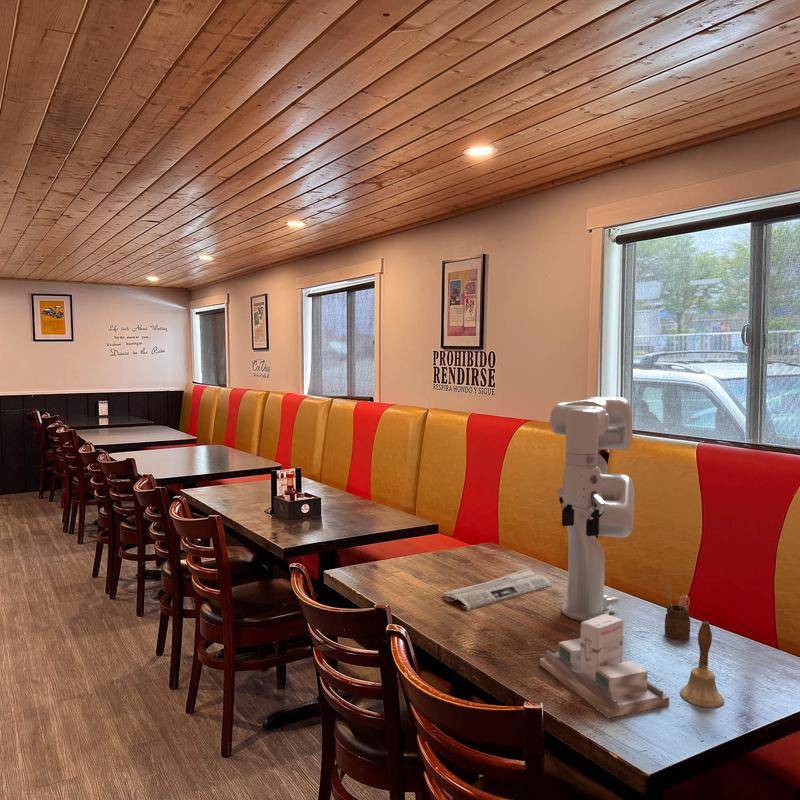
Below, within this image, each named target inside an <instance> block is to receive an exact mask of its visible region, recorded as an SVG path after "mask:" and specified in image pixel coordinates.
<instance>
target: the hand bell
mask: <svg viewBox="0 0 800 800" xmlns="http://www.w3.org/2000/svg"><path fill="white" fill-rule="evenodd" d="M700 625H701V626H700V627H699V630H698V634H697V643H698V647H699V657H698V658H699V660H698V667H694V668H691V670H690V674H689V679H688V682H687V683H686V684H685V685H684V686H683V687H682V688H680V690H679V695H680V697H681V698H682V699H683V700H685V701H686V702H688V703H690V704H693V705H694V706H699V707H702V708H703V707H704V708H707V709H710V708H711V709H713V708H719V707H721V706H723V705H724V703H725V700H724V697H723V696H722V694H721V693H720V692H719V690H718V689H717V688H718V687H717V683H716V678H715V674H714V672H713V671H712V670H710V669H709V668H708V666H709V651H710V649H711V646H712V642H713V641H712V640H713V634H712V630H711V627H710V622H709V621H707V620H704V621H702V623H701V624H700Z"/></svg>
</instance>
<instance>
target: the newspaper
mask: <svg viewBox="0 0 800 800" xmlns="http://www.w3.org/2000/svg"><path fill="white" fill-rule="evenodd" d="M548 587H551V588H552V583H551V582H550V580H549V579H548V578H547V577H545V576H544V575H542V574H541V575H540V574H538V573H536V572H534V571H532V570H531V568H530V567H527V568H524V569H520V570H519V571H516V572H512V573H510V574H507V575H504V576H501V577H499V578H496V579H492V580H490V581H487V582H482V583H477V584H473V585H469V586H465V587H460V588H456V589H450V590H448V591H443V592H442V593H443V594H445V595H444V596H443V600H444V601H445V600H447V601H446V602H450V601H451V602H453V601H452V600H455V599H458V601H460V602H461V603H462V605H460V607H461V606H462V607H461V608H463V609H465V610H466V611H467V612H469V611H472V609H473V610H476V609H480V608H483V607H486V605H487V606H490V605H493V604H492V603H494V604H497V603H496V602H498V603H500V602H499V601H501V602H504V601H503V600H505V601H507V600H506V599H508V600H510V599H509V598H512V599H514V598H513V597H515V598H517V597H516V596H519V597H521V596H520V595H522V596H524V595H523V594H526V595H528V594H527V593H529V594H532V593H531V592H533V593H536V592H539V591H538V590H540V591H542V590H541V589H544V588H547V589H549V588H548ZM544 590H545V589H544ZM535 591H536V592H535ZM455 601H456V600H455ZM489 604H490V605H489ZM463 605H464V606H466V607H464V606H463ZM482 606H483V607H482ZM479 607H480V608H479ZM475 608H476V609H475Z"/></svg>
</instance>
